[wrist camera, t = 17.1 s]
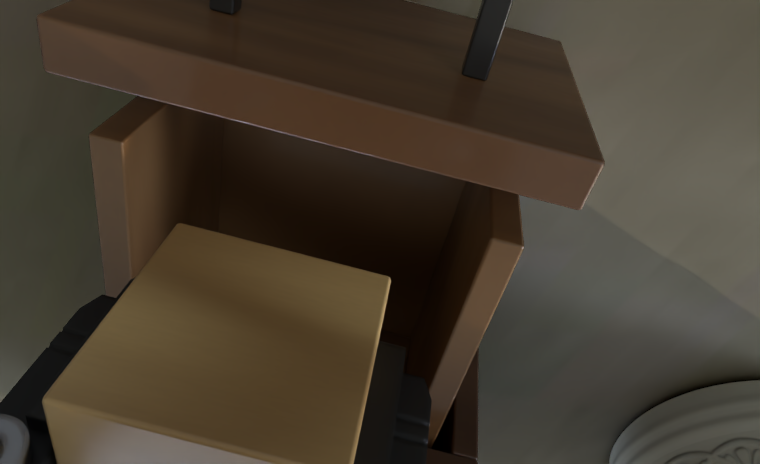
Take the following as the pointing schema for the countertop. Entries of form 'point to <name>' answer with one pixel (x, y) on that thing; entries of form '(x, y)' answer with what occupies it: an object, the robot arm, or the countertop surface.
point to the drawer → (334, 145)
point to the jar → (696, 429)
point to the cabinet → (459, 425)
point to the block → (224, 360)
